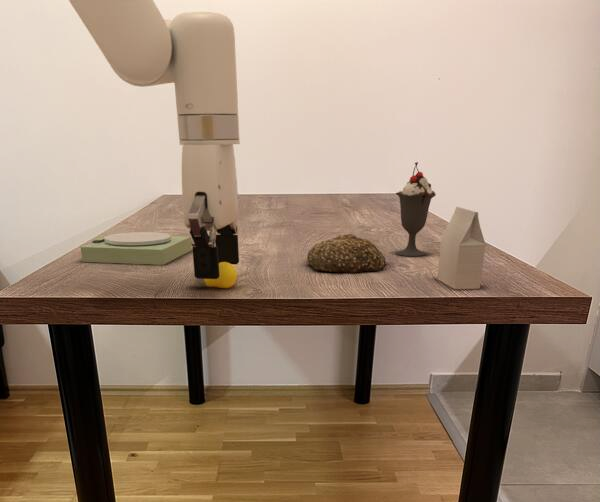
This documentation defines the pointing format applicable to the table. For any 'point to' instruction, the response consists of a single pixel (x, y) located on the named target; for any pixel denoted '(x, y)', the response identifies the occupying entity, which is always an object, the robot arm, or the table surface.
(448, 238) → the gable-top milk carton
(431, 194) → the sundae
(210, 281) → the light bulb
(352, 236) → the bread roll
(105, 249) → the scale
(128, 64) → the robot arm
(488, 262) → the table surface
